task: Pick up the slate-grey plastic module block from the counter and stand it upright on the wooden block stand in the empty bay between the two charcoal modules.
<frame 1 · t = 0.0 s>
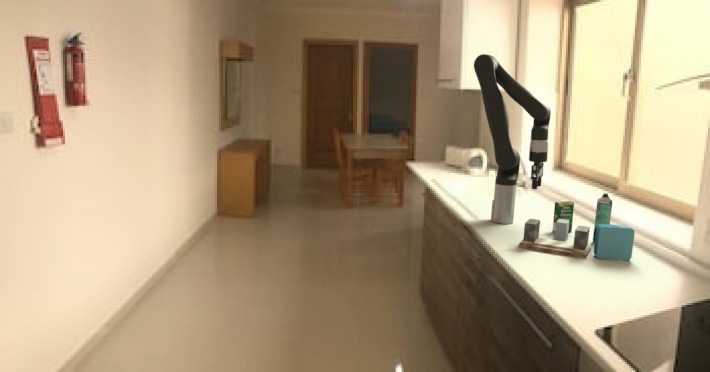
hand: (536, 187, 253), 17 cm above the counter, tool pointing down, fingers open, 8 cm apart
coffee box: (561, 232, 248), on the counter
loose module: (560, 240, 233), on the counter
spray can: (599, 243, 232), on the counter
blue rounded block: (611, 258, 211), on the counter
wooden block stand: (554, 248, 220), on the counter
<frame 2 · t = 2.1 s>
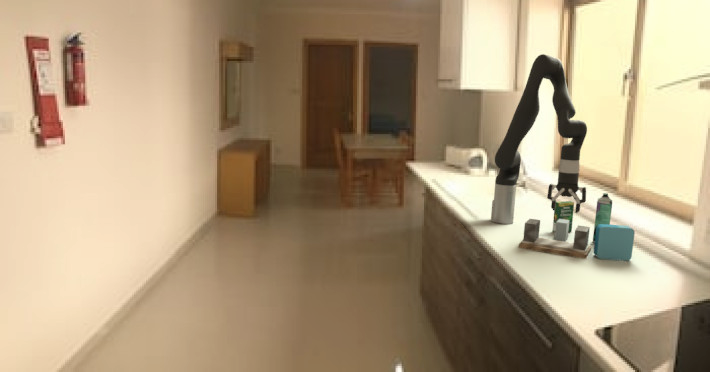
hand: (565, 211, 231), 12 cm above the counter, tool pointing down, fingers open, 8 cm apart
nothing on the counter moved.
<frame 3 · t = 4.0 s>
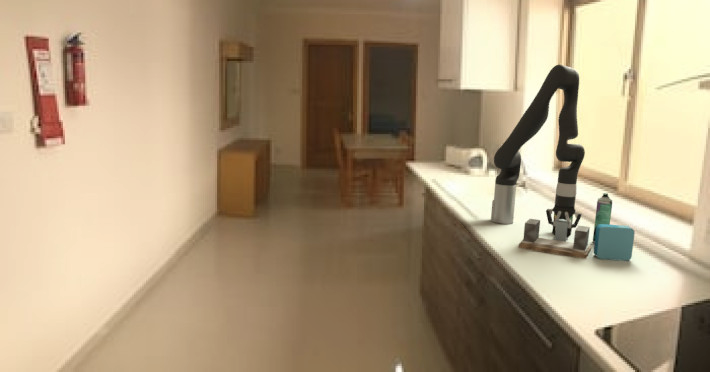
hand: (561, 235, 233), 2 cm above the counter, tool pointing down, fingers closed on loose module, 4 cm apart
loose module: (561, 240, 233), on the counter, touching gripper
everything else where it was.
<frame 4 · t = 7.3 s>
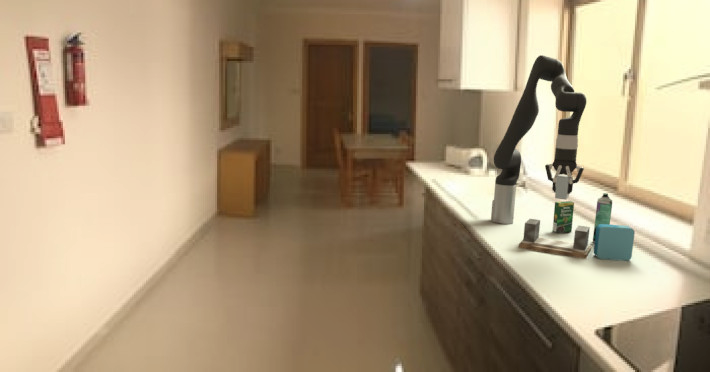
hand: (562, 192, 217), 22 cm above the counter, tool pointing down, fingers closed on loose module, 4 cm apart
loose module: (561, 197, 217), point 20 cm above the counter, touching gripper
everything else where it was.
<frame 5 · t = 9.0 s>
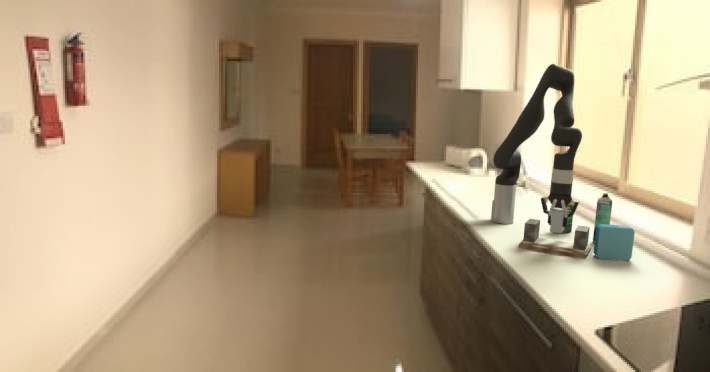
hand: (557, 225, 219), 9 cm above the counter, tool pointing down, fingers closed on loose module, 4 cm apart
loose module: (557, 230, 219), point 7 cm above the counter, touching gripper
everything else where it was.
when the fingers open (5 cm above the counter, at t = 10.6 s): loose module stays where it is, resting on wooden block stand.
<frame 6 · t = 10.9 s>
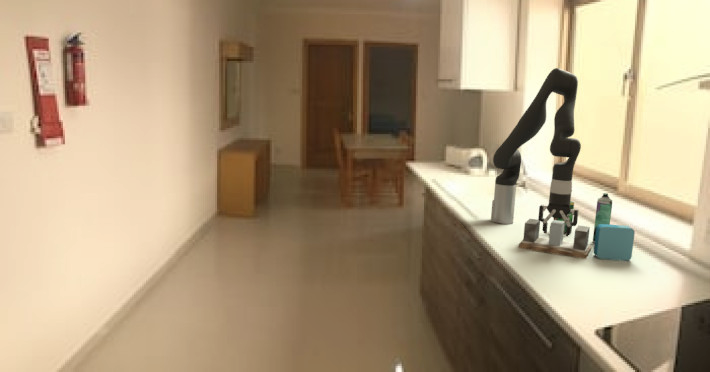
hand: (556, 234, 219), 6 cm above the counter, tool pointing down, fingers open, 7 cm apart
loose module: (555, 243, 220), point 2 cm above the counter, touching wooden block stand
everything else where it was.
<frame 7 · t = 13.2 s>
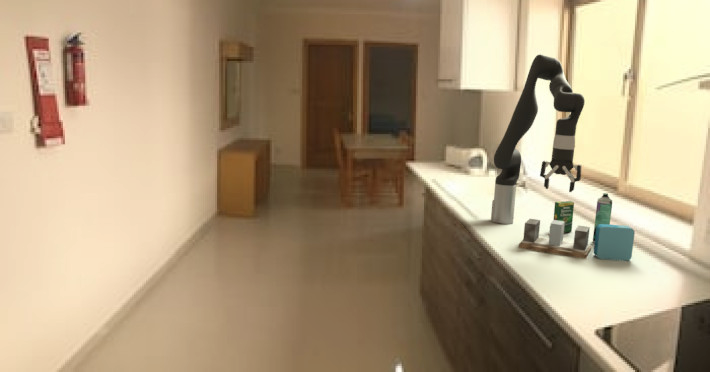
hand: (558, 190, 218), 22 cm above the counter, tool pointing down, fingers open, 8 cm apart
nothing on the counter moved.
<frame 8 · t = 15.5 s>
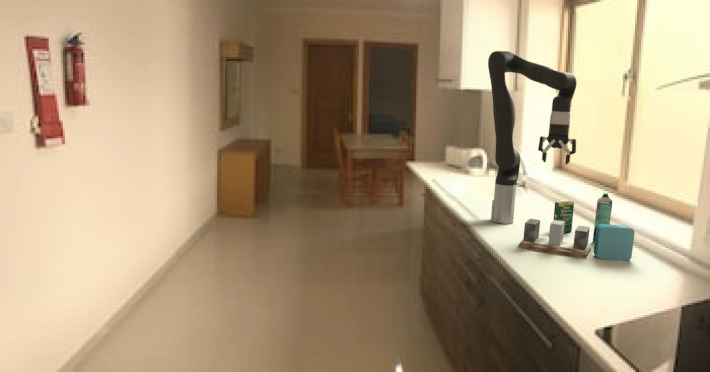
hand: (555, 163, 236), 30 cm above the counter, tool pointing down, fingers open, 8 cm apart
nothing on the counter moved.
at the end: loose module 0.1 cm off-centre on the wooden block stand, point 2.3 cm above the wooden block stand's base; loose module tilted 0°; the gripper is holding nothing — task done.
